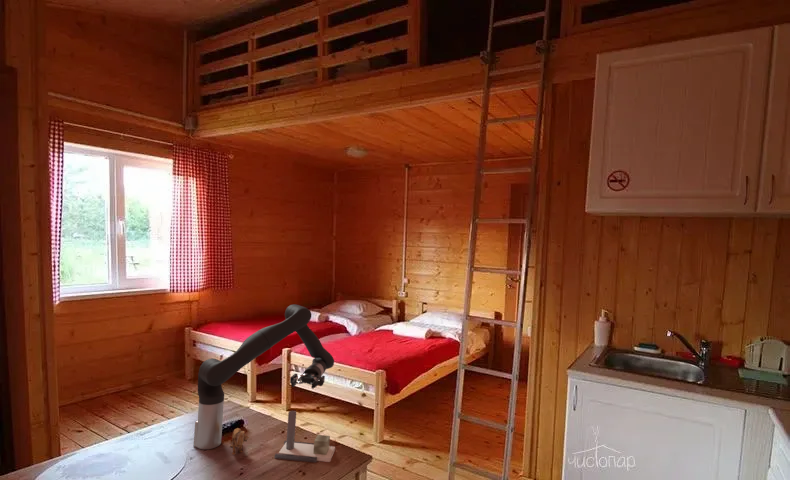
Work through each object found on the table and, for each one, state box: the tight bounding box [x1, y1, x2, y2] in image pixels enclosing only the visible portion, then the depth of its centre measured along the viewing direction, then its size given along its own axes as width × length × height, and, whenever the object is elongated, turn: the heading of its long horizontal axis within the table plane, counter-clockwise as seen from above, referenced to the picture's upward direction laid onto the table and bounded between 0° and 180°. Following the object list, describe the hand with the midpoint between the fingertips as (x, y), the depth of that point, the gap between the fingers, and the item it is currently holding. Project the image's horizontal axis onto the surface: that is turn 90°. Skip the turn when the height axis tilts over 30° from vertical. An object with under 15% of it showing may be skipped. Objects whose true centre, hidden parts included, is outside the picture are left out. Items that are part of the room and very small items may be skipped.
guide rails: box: [274, 440, 318, 463], centre depth 163 cm, size 16×12×2 cm
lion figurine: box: [229, 427, 250, 456], centre depth 163 cm, size 15×5×9 cm, turn 34°
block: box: [313, 434, 331, 455], centre depth 162 cm, size 5×5×5 cm
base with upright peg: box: [278, 410, 336, 463], centre depth 163 cm, size 20×9×16 cm, turn 86°
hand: (302, 385), depth 175 cm, fingers open, 8 cm apart
